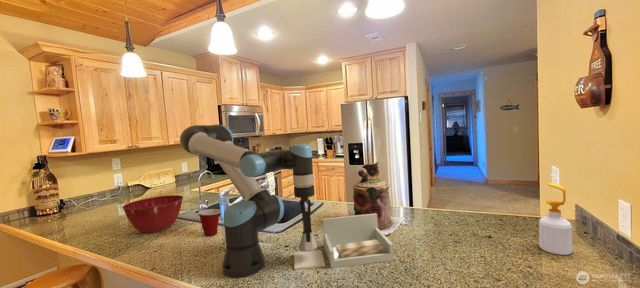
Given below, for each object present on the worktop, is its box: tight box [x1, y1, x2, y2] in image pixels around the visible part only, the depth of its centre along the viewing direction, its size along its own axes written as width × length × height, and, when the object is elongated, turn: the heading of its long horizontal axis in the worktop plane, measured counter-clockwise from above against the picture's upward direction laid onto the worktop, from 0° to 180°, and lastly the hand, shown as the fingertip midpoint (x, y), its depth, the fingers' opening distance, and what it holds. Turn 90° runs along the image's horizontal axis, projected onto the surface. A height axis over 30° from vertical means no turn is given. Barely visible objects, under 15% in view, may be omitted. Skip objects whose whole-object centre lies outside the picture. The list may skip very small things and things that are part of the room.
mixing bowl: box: [121, 194, 184, 234], centre depth 149 cm, size 28×28×15 cm
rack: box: [322, 213, 395, 269], centre depth 105 cm, size 23×18×12 cm
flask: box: [298, 221, 319, 252], centre depth 102 cm, size 7×7×10 cm
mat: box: [293, 249, 326, 271], centre depth 102 cm, size 11×12×1 cm
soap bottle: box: [538, 182, 573, 256], centre depth 98 cm, size 9×9×25 cm
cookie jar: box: [352, 161, 405, 236], centre depth 133 cm, size 25×25×32 cm
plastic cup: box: [197, 208, 222, 237], centre depth 135 cm, size 11×11×12 cm
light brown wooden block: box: [335, 239, 384, 259], centre depth 100 cm, size 17×4×6 cm, turn 101°
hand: (308, 245), depth 102 cm, fingers closed on flask, 6 cm apart
